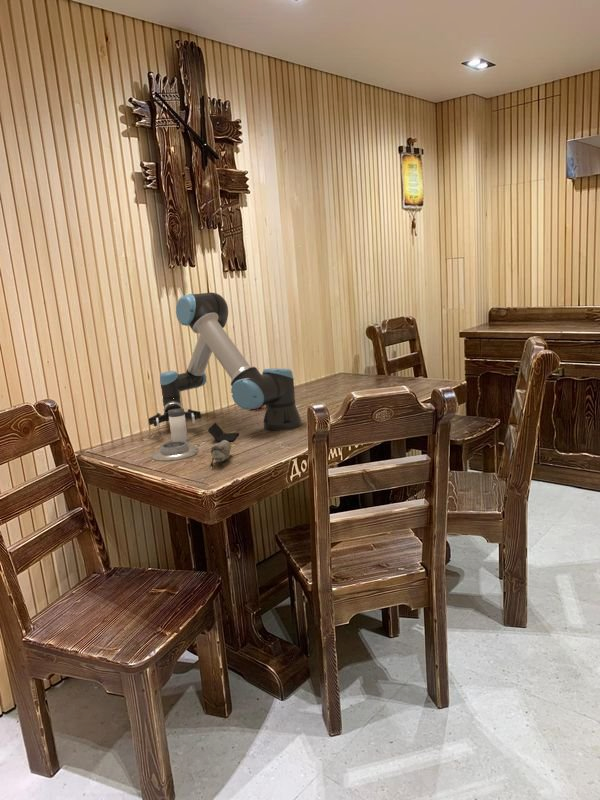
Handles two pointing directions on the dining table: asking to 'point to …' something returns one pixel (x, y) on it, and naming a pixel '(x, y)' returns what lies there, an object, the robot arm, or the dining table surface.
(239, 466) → the dining table surface
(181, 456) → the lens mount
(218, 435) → the handheld gaming console
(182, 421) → the lens
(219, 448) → the decorative bird
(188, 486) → the dining table surface
